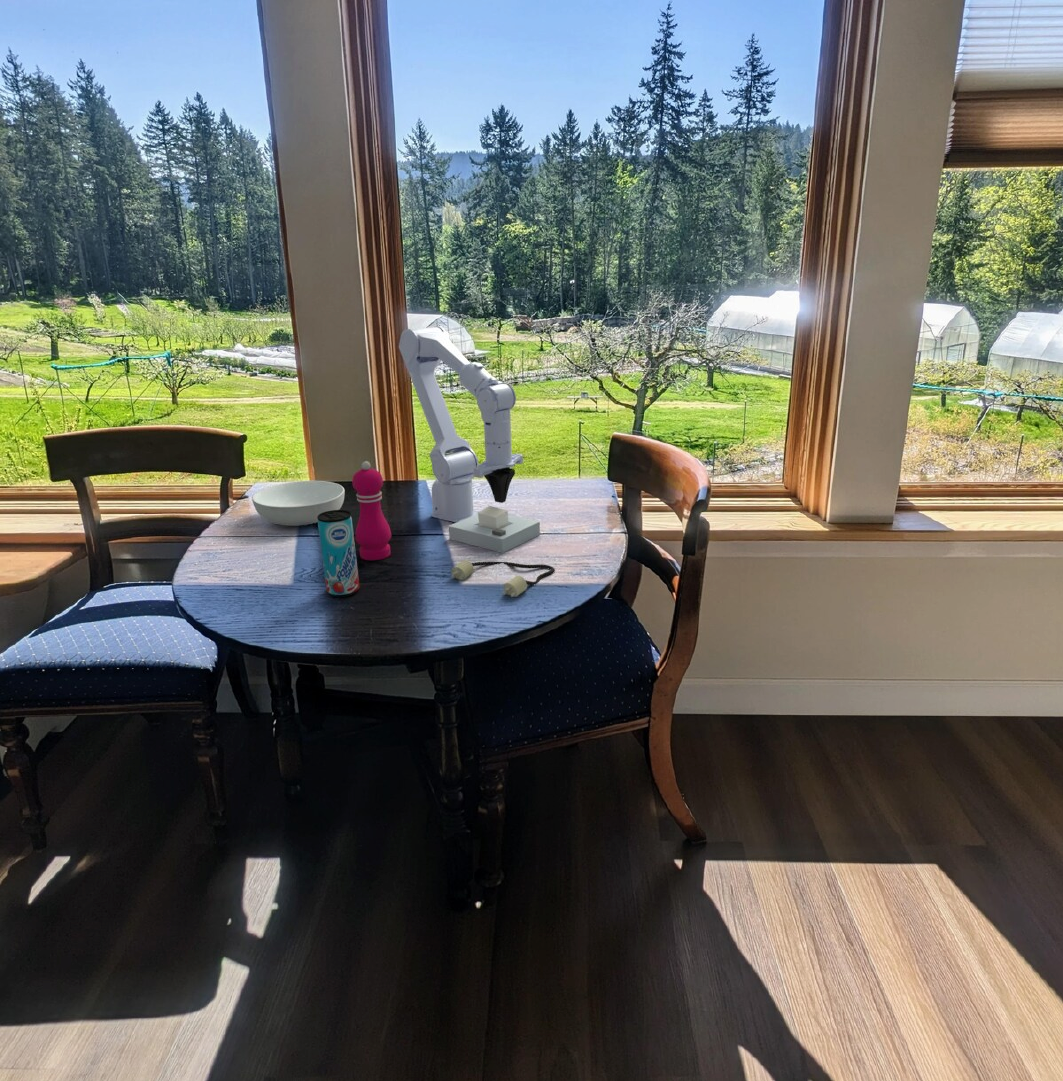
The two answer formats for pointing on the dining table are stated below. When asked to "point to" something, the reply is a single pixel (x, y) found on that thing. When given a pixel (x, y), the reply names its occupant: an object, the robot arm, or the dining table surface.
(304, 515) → the serving bowl
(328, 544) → the beverage can
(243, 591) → the dining table surface
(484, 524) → the cream rectangular block
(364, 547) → the pepper mill
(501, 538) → the socket plate
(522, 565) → the cable
